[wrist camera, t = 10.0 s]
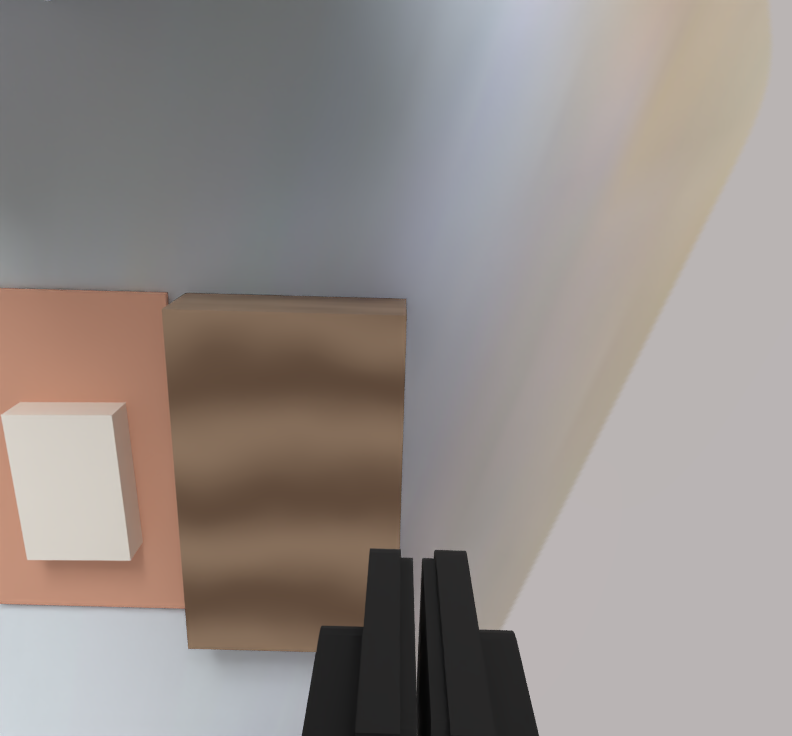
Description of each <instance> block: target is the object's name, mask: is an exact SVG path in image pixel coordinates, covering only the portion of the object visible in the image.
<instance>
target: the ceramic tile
mask: <svg viewBox="0 0 792 736" xmlns="http://www.w3.org/2000/svg"><path fill="white" fill-rule="evenodd" d="M1 419H2V424H3V430H4V435H5V441H6V446H7V452H8V457H9V463H10V468H11V474H12V479H13V485H14V490H15V496H16V501H17V507H18V512H19V518H20V523H21V529H22V534H23V540H24V545H25V551H26V556H27V560H107V561H131V559H132V558H133V556H134V555H135V553H136V552H137V550H138V549H139V547H140V546H141V544H142V543H143V538H142V530H141V522H140V514H139V506H138V498H137V490H136V482H135V474H134V466H133V457H132V449H131V441H130V433H129V425H128V417H127V409H126V402H20V403H18V404H16V405H15V406H13V407H12V408H10V409H9V410H7V411H6V412H4V413H3V414H1Z"/></svg>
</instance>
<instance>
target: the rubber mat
mask: <svg viewBox="0 0 792 736" xmlns="http://www.w3.org/2000/svg"><path fill="white" fill-rule="evenodd" d="M167 305H168V292H131V291H93V290H55V289H17V288H0V604H29V605H67V606H105V607H143V608H181V609H185V601H184V588H183V575H182V562H181V550H180V537H179V524H178V511H177V499H176V486H175V473H174V460H173V447H172V435H171V422H170V409H169V396H168V384H167V371H166V358H165V345H164V333H163V320H162V309H163V308H164V307H166V306H167ZM20 402H126V409H127V417H128V425H129V433H130V441H131V449H132V457H133V466H134V474H135V482H136V490H137V498H138V506H139V514H140V522H141V530H142V538H143V543H142V544H141V546H140V547H139V549H138V550H137V552H136V553H135V555H134V556H133V558H132V559H131V561H107V560H27V556H26V551H25V545H24V540H23V534H22V529H21V523H20V518H19V512H18V507H17V501H16V496H15V490H14V485H13V479H12V474H11V468H10V463H9V457H8V452H7V446H6V441H5V435H4V430H3V424H2V419H1V414H3V413H4V412H6V411H7V410H9V409H10V408H12V407H13V406H15V405H16V404H18V403H20Z"/></svg>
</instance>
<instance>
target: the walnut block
mask: <svg viewBox="0 0 792 736" xmlns="http://www.w3.org/2000/svg"><path fill="white" fill-rule="evenodd" d="M162 320H163V333H164V345H165V358H166V371H167V384H168V396H169V409H170V422H171V435H172V447H173V460H174V473H175V486H176V499H177V511H178V524H179V537H180V550H181V562H182V575H183V588H184V601H185V613H186V626H187V639H188V649H220V650H258V651H296V652H316V649H317V644H318V638H319V632H320V628H321V626H359V627H363V626H364V613H365V601H366V588H367V576H368V563H369V551H370V548H376V549H400V518H401V485H402V452H403V419H404V387H405V354H406V321H407V310H406V299H396V298H358V297H320V296H283V295H245V294H207V293H185V294H184V295H182V296H181V297H179V298H178V299H176V300H175V301H173V302H172V303H170V304H169V305H167V306H166V307H164V308H163V309H162Z"/></svg>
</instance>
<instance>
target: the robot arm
mask: <svg viewBox="0 0 792 736" xmlns="http://www.w3.org/2000/svg"><path fill="white" fill-rule="evenodd" d="M302 736H539V734H538V730H537V726H536V721H535V717H534V713H533V708H532V704H531V700H530V695H529V691H528V687H527V683H526V678H525V674H524V670H523V666H522V661H521V657H520V653H519V648H518V644H517V640H516V637H515V634H514V632H513V631H507V630H506V631H505V630H479V627H478V621H477V615H476V608H475V602H474V596H473V590H472V583H471V577H470V571H469V565H468V559H467V553H466V551H450V550H435V551H434V559H432V558H423V559H422V574H421V597H420V621H419V644H418V667H417V698H416V661H415V624H414V587H413V558H401V549H376V548H370V551H369V563H368V576H367V588H366V601H365V613H364V626H363V627H359V626H321V628H320V632H319V638H318V644H317V649H316V655H315V661H314V667H313V673H312V679H311V685H310V691H309V696H308V702H307V708H306V714H305V720H304V726H303V732H302Z"/></svg>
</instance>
